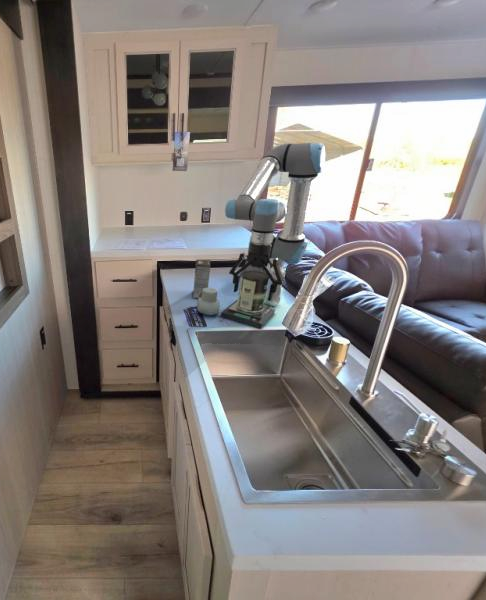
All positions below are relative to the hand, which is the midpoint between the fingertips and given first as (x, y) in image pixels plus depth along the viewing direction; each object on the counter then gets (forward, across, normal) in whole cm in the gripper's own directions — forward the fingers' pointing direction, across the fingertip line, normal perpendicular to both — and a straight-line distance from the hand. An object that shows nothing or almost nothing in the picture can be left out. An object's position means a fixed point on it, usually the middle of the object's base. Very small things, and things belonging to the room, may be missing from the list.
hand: (252, 295), depth 125 cm
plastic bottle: (+9, +4, +15) cm, 18 cm away
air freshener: (+8, -14, -9) cm, 19 cm away
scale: (+8, 0, -2) cm, 8 cm away
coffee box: (+8, -25, +5) cm, 27 cm away
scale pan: (+6, 0, 0) cm, 6 cm away
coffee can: (+5, 0, 0) cm, 5 cm away
